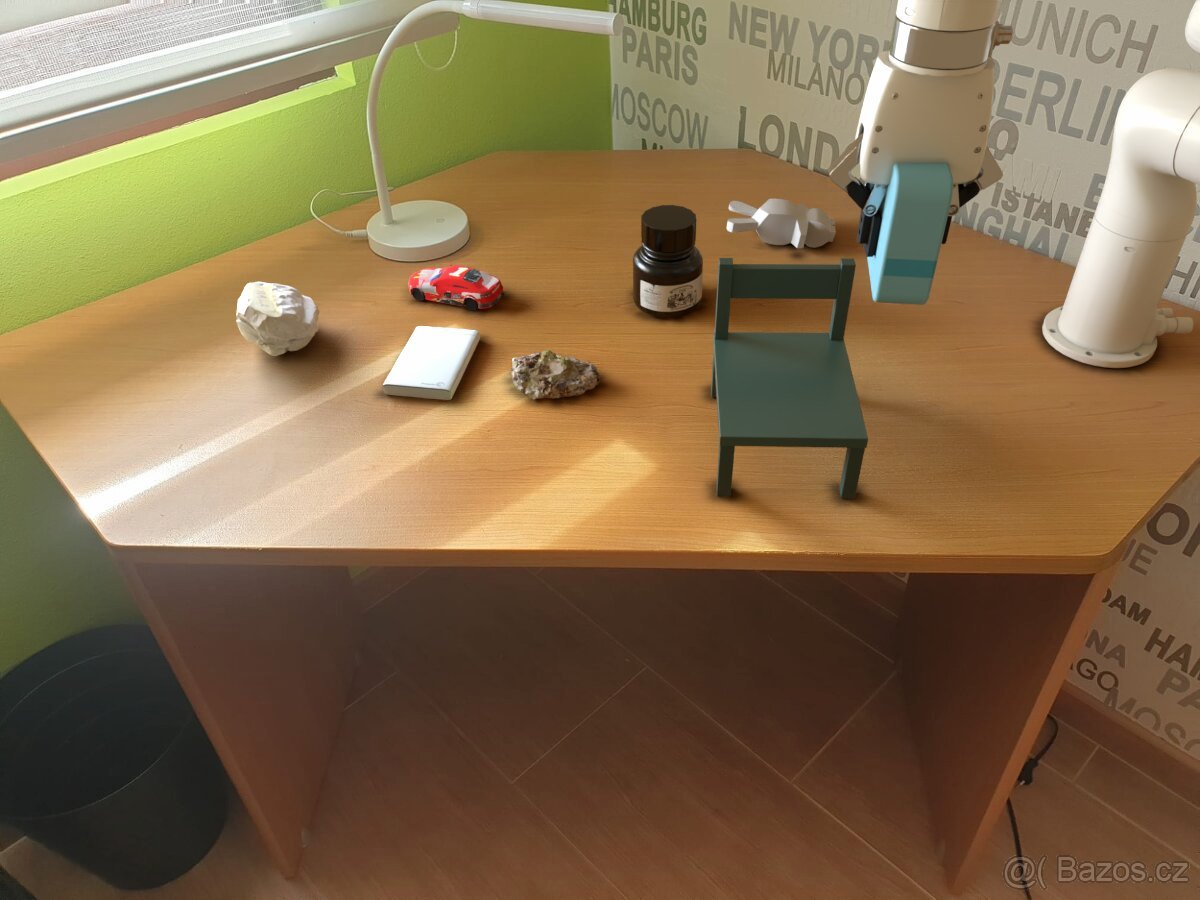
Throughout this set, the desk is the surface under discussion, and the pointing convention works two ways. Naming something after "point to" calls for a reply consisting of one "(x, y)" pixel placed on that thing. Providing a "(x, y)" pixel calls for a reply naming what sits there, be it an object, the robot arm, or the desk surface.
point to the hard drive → (432, 363)
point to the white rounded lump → (276, 317)
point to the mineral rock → (552, 375)
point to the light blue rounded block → (910, 232)
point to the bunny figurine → (784, 223)
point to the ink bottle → (667, 263)
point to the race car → (456, 287)
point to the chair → (786, 370)
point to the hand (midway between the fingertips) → (899, 247)
